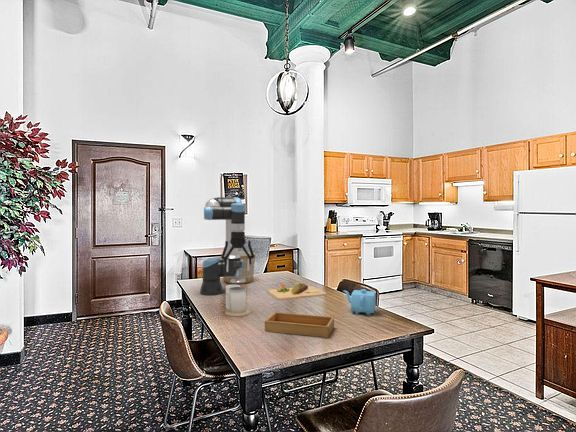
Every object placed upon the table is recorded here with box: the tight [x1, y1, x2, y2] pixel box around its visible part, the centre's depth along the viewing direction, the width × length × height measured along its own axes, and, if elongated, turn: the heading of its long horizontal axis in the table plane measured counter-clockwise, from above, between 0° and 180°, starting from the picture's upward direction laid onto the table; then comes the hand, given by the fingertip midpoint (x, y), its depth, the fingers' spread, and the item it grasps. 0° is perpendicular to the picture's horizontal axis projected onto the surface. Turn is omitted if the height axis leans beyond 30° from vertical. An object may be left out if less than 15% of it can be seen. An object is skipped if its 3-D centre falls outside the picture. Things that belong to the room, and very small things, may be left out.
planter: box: [220, 250, 256, 285], centre depth 285 cm, size 26×26×22 cm
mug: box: [225, 284, 241, 294], centre depth 222 cm, size 9×12×11 cm
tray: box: [264, 311, 335, 338], centre depth 177 cm, size 31×15×6 cm, turn 73°
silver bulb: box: [230, 261, 245, 283], centre depth 202 cm, size 8×8×11 cm
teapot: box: [343, 288, 377, 316], centre depth 206 cm, size 18×16×13 cm
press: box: [224, 286, 251, 317], centre depth 203 cm, size 14×14×13 cm
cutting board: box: [266, 282, 328, 301], centre depth 248 cm, size 35×23×8 cm
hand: (237, 270), depth 202 cm, fingers open, 11 cm apart
